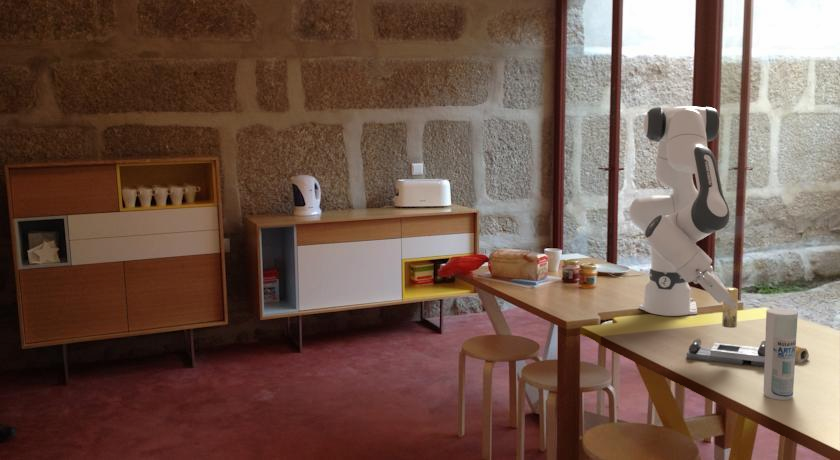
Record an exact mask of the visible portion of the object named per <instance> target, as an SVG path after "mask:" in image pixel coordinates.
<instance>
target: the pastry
mask: <svg viewBox="0 0 840 460" xmlns="http://www.w3.org/2000/svg"><path fill="white" fill-rule="evenodd" d="M809 358H810V355H809V351H808V349H807V348H806V347H800V346H797V345H796V352H795V364H800V363H804V361H807V360H808V359H809Z"/></svg>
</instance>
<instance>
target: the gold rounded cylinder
mask: <svg viewBox="0 0 840 460" xmlns="http://www.w3.org/2000/svg"><path fill="white" fill-rule="evenodd" d="M725 288H726V289H727V291H728V292H729V296H730V297H731V298H732V299H733V300H734V301H735V302H736V304H737V305H736V306H735V307H734V308H730V307H729V306H728V305H727V304H726V303H725V302H723V301H722V318H721V319H722V320H721V325H722V327H723V328H729V329H730V328H731V329H733V328H735V329H736V328H737V327H738V326H737V325H738V306H739V305H738V303H739V302H738V301H739V300H738V299H739V289H738V288H736V287H725Z"/></svg>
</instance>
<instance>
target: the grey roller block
mask: <svg viewBox="0 0 840 460" xmlns="http://www.w3.org/2000/svg"><path fill="white" fill-rule="evenodd" d="M686 359H690V360H696V361H697V360H698V361H706V362H714V363H722V364H730V365H737V366H743V365H744V362H745V361H750V362H751V363H750V365H751V366H755V367H763V368H764V366H765V340H762V341H760V345H759V347H758V346H751V345H750V346H748V345H743V344H741V345H739V344H733V343H731V344H730V343H721V342H714V343H713V345H712V347H711V346H702V340H701V339H700V338H695V339H694V340H693V342H692V343H691V345H690V346H689V348H688V350H687V352H686Z"/></svg>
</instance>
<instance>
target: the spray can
mask: <svg viewBox="0 0 840 460" xmlns="http://www.w3.org/2000/svg"><path fill="white" fill-rule="evenodd" d="M765 315H766V316H765V337H764V338H765V340H764V341H765V366H764V367H763V368H764V369H763V370H764V372H763V374H764V375H763V395H764V396H765V397H767V398H769V399H772V400H777V401H779V400H781V401H788V400H792V399H793V397H794V384H795V382H794V381H795V366H796V363H795V352H796V346H797V334H798V333H797V332H798V331H797V330H798V317H799V316H798V312H797V310H793V309H791V308H784V307H773V308H768V309H767V310H766V311H765Z"/></svg>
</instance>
